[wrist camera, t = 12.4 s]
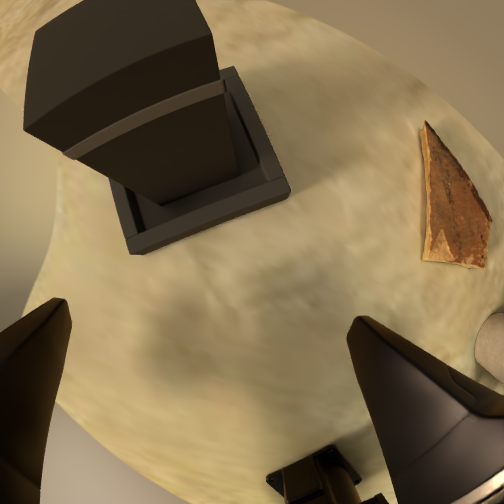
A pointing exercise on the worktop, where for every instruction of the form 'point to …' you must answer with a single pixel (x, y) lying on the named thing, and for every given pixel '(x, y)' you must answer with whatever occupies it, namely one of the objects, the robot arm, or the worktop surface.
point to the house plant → (491, 346)
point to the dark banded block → (133, 95)
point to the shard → (452, 208)
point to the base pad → (213, 198)
